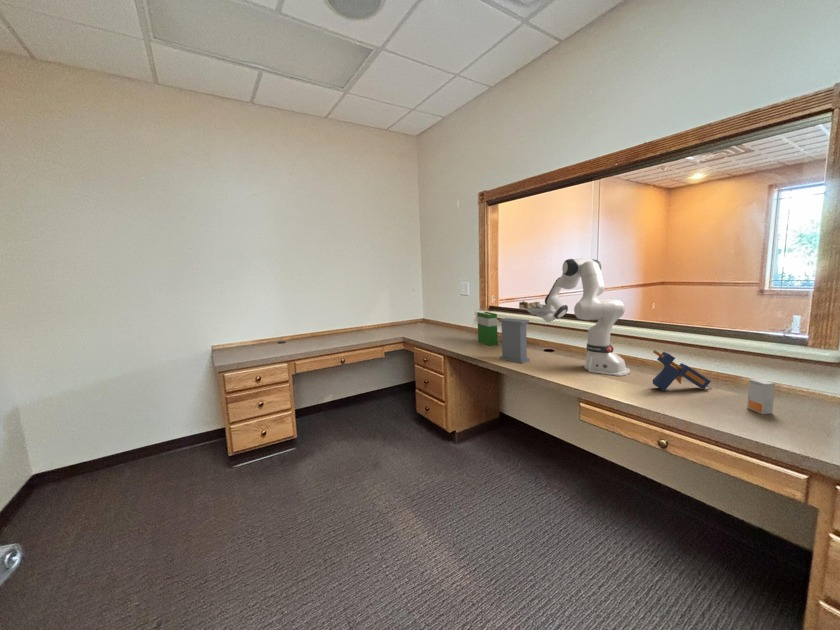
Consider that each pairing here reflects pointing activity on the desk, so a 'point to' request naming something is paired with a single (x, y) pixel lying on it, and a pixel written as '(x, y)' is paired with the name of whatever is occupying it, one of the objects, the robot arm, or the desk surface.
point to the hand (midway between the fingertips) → (534, 303)
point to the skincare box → (761, 396)
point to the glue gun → (677, 373)
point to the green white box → (487, 328)
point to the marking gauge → (527, 305)
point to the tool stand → (514, 340)
